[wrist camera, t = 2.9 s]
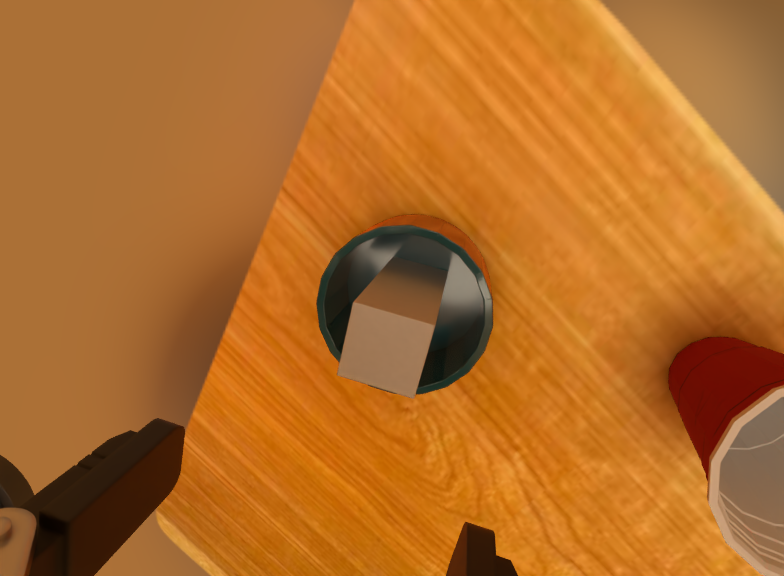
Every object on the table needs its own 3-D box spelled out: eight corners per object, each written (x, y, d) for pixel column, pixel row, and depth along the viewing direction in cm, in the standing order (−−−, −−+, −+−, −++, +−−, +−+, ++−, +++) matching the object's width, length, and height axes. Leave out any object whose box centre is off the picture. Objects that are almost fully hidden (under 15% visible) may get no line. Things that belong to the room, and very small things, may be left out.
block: (380, 308, 33) (336, 375, 22) (393, 255, 32) (353, 301, 21) (433, 323, 32) (413, 399, 22) (448, 271, 31) (435, 325, 21)
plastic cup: (799, 278, 28) (1023, 357, 17) (812, 430, 30) (1017, 591, 19) (614, 314, 30) (697, 404, 19) (639, 451, 33) (727, 605, 21)
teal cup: (331, 332, 35) (303, 366, 29) (360, 197, 31) (335, 204, 26) (465, 372, 34) (463, 415, 28) (509, 236, 30) (517, 253, 25)
